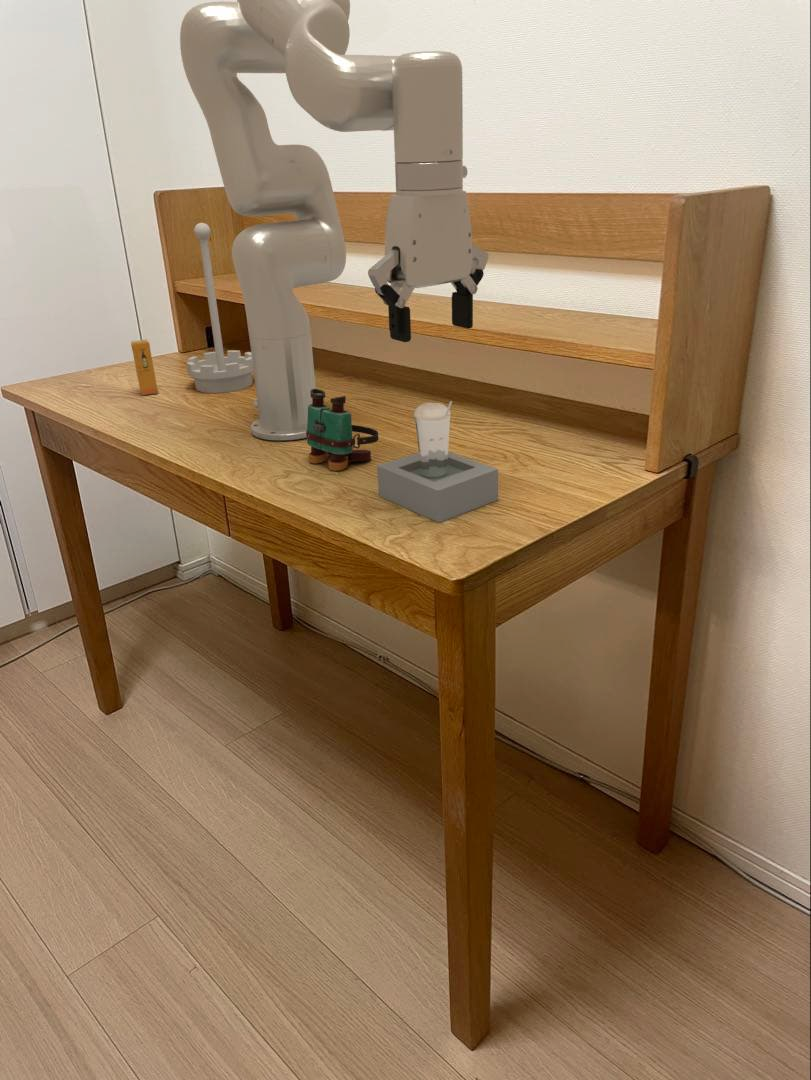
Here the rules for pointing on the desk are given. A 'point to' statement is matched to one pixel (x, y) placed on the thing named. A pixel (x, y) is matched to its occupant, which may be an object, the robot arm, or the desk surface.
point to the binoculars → (335, 433)
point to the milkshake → (433, 438)
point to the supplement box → (144, 367)
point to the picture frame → (438, 486)
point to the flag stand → (217, 342)
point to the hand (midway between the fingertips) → (432, 333)
